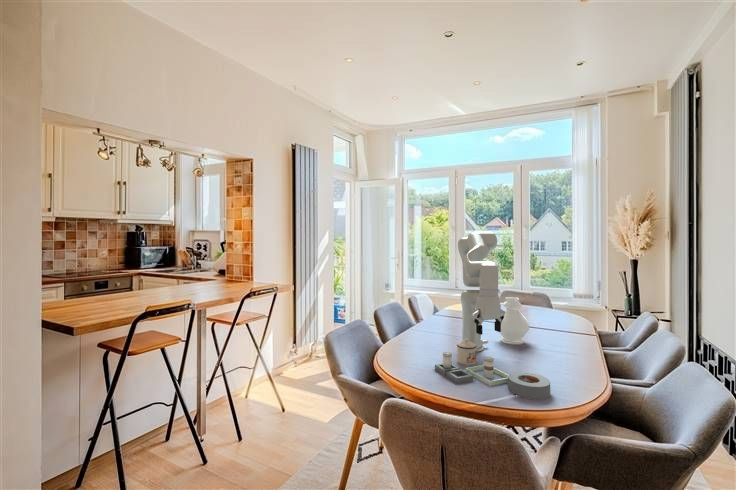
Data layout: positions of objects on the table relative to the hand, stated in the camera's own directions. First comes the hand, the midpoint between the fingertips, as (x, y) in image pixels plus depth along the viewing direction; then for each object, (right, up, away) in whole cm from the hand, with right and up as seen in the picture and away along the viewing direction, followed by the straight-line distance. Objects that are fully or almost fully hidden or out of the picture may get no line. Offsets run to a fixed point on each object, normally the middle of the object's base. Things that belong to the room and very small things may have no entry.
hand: (488, 332), depth 154 cm
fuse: (-16, -19, +6) cm, 25 cm away
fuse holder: (-15, -20, +2) cm, 24 cm away
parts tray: (0, -20, 0) cm, 20 cm away
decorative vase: (+32, -18, +54) cm, 65 cm away
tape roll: (+12, -20, -12) cm, 26 cm away
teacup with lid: (-3, -19, +19) cm, 28 cm away
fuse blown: (0, -19, 0) cm, 19 cm away
